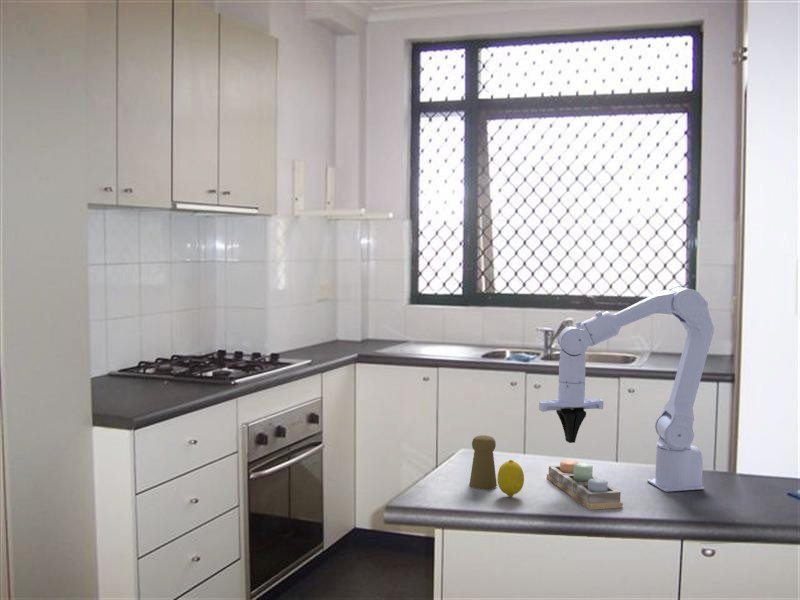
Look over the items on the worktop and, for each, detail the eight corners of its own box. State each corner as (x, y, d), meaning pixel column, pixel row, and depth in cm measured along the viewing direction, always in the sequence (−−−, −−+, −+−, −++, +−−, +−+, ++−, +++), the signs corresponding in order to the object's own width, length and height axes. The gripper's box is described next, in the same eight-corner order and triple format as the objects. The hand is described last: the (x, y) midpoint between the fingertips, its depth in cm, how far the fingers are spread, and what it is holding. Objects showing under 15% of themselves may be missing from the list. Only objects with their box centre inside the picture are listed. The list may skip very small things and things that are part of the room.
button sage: (587, 476, 182) (587, 462, 182) (595, 481, 178) (595, 467, 178) (570, 477, 181) (570, 463, 181) (578, 482, 178) (578, 468, 177)
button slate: (601, 491, 176) (602, 477, 175) (610, 497, 172) (611, 483, 172) (584, 493, 175) (584, 479, 175) (592, 499, 171) (593, 484, 171)
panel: (546, 478, 190) (546, 465, 190) (575, 476, 192) (576, 463, 191) (589, 509, 169) (590, 495, 168) (622, 507, 170) (622, 493, 170)
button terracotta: (573, 473, 189) (573, 460, 189) (581, 478, 185) (581, 465, 185) (556, 474, 188) (557, 461, 188) (564, 479, 184) (564, 466, 184)
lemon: (522, 502, 173) (523, 464, 173) (496, 500, 174) (496, 462, 174) (524, 493, 179) (525, 457, 178) (498, 492, 180) (499, 455, 179)
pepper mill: (465, 487, 183) (466, 438, 182) (474, 479, 188) (474, 432, 188) (492, 490, 181) (493, 440, 180) (499, 483, 186) (500, 434, 185)
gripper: (594, 377, 190) (592, 435, 191) (534, 379, 187) (533, 438, 188) (608, 382, 184) (606, 443, 185) (546, 384, 180) (545, 446, 181)
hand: (570, 441), depth 186 cm, fingers closed
